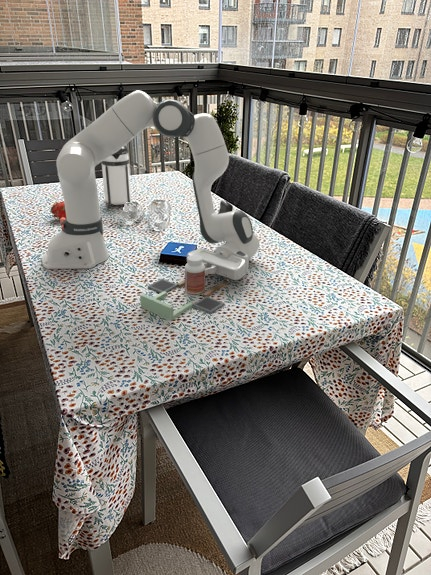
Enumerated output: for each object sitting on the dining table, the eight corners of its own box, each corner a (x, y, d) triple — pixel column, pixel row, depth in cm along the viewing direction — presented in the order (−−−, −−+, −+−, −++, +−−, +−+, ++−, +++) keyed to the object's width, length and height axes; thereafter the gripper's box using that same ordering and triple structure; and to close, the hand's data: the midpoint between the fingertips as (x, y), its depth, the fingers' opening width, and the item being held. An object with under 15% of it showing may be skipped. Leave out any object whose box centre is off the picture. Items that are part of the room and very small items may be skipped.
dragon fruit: (49, 223, 190) (78, 224, 195) (51, 217, 182) (81, 218, 187) (48, 204, 191) (77, 205, 196) (50, 197, 183) (80, 199, 188)
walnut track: (200, 273, 149) (200, 270, 148) (228, 283, 143) (228, 280, 142) (177, 286, 140) (176, 283, 140) (205, 298, 134) (205, 295, 134)
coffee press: (142, 202, 213) (139, 137, 199) (119, 211, 201) (113, 142, 187) (115, 196, 221) (110, 132, 207) (91, 204, 209) (84, 137, 195)
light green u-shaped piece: (164, 293, 136) (163, 282, 134) (193, 306, 130) (193, 294, 128) (140, 307, 129) (140, 295, 127) (170, 320, 123) (170, 308, 121)
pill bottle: (208, 292, 138) (209, 259, 132) (191, 297, 135) (191, 263, 129) (198, 283, 142) (198, 251, 137) (181, 288, 139) (180, 256, 134)
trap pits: (162, 280, 144) (161, 278, 143) (224, 304, 131) (224, 302, 131) (147, 287, 139) (147, 285, 139) (210, 314, 126) (210, 312, 126)
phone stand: (218, 234, 180) (218, 205, 174) (212, 229, 185) (213, 201, 179) (238, 231, 183) (239, 203, 177) (232, 226, 188) (233, 199, 182)
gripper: (201, 241, 152) (175, 254, 142) (252, 257, 142) (228, 272, 132) (201, 258, 155) (175, 271, 145) (251, 274, 145) (227, 290, 135)
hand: (201, 272), depth 138 cm, fingers closed, pressing on pill bottle
